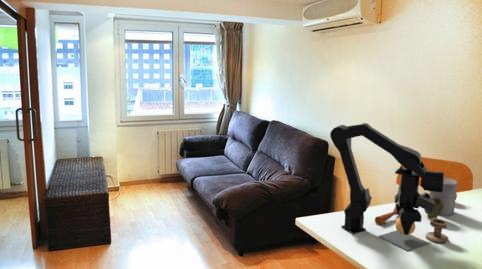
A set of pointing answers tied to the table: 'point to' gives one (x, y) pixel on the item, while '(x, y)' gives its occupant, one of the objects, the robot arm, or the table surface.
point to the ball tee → (437, 231)
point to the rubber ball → (400, 228)
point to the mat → (404, 240)
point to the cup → (436, 209)
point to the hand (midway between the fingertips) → (404, 230)
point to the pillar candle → (447, 196)
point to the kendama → (385, 217)
